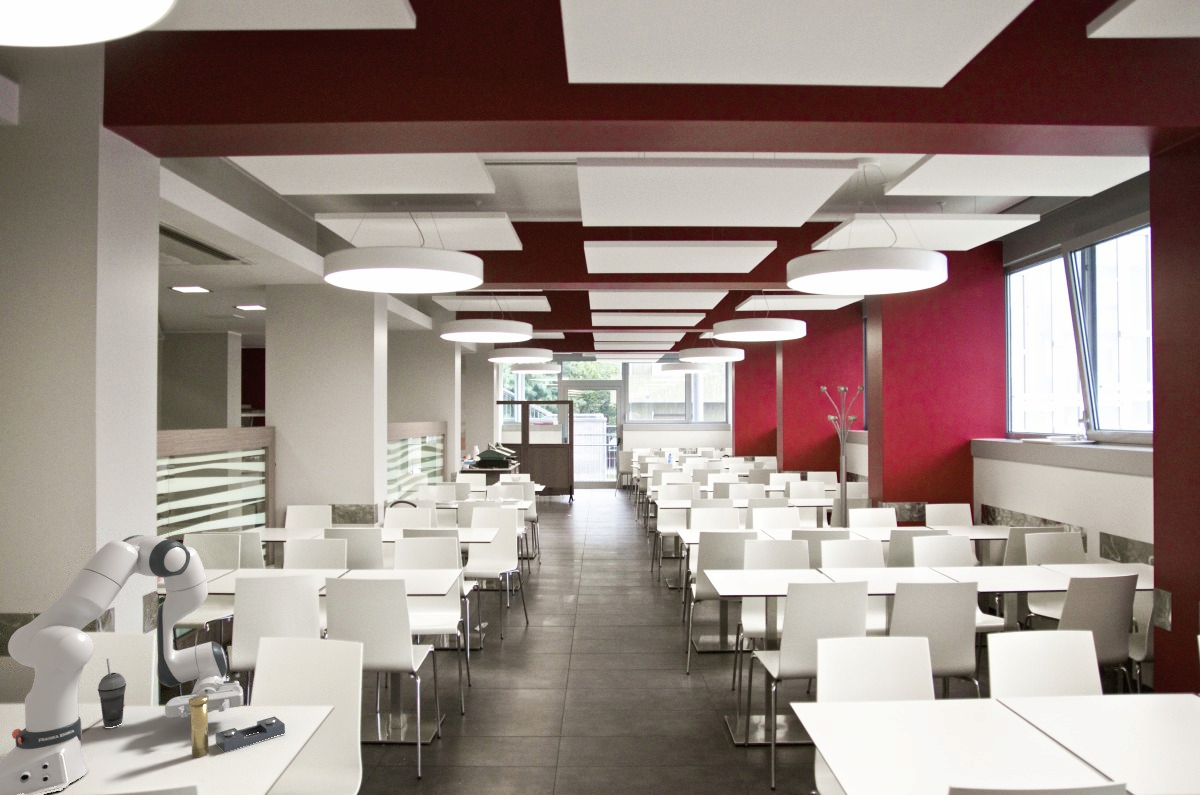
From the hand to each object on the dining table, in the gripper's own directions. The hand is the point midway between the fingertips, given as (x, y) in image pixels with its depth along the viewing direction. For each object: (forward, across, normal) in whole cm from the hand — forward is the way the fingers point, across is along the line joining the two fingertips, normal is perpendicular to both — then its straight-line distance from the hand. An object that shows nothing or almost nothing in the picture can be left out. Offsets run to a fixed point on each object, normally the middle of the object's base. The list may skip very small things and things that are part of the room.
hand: (202, 711), depth 217 cm
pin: (+10, 0, +8) cm, 13 cm away
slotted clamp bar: (+6, +12, +8) cm, 16 cm away
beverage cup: (-25, -26, +8) cm, 37 cm away
